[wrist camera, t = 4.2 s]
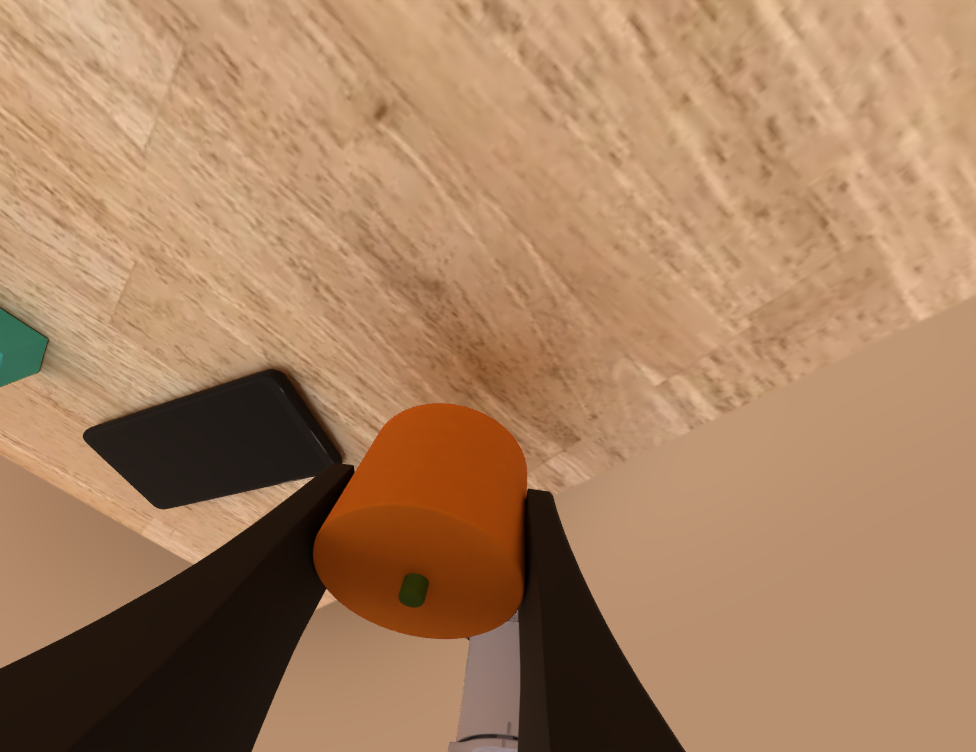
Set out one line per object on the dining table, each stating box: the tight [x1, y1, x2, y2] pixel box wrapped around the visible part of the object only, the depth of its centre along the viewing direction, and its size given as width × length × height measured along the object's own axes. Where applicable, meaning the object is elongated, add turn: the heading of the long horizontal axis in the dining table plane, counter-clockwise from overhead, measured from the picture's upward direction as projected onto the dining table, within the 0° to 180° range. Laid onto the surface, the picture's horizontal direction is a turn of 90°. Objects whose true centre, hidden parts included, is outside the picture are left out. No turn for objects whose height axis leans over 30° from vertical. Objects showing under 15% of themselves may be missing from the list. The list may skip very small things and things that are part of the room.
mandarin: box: [313, 403, 527, 639], centre depth 10 cm, size 5×5×4 cm
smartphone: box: [83, 369, 342, 509], centre depth 22 cm, size 7×1×15 cm
